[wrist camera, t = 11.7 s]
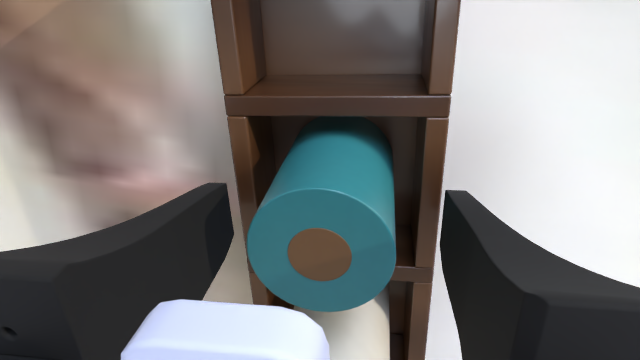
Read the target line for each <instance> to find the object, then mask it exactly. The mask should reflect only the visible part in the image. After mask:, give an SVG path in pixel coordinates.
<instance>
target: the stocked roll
mask: <svg viewBox="0 0 640 360" xmlns="http://www.w3.org/2000/svg"><path fill="white" fill-rule="evenodd" d="M293 310H295V311H298V312H302V313H304V314H306V315H307V316H308V317H309V318H311V319H312V320H313V321H314V322H316V323H317V324H318V325H319V326H321V327H322V329H323V331H324V334H325V336H326V339H327V341H328V344H329V355H330V360H390V325H389V282H388V284H387V285H386V287H385V288H384V289H383V290H382V291H381V292H380V293H379V294H378V295H377V296H376V297H375V298H373V299H372V300H370V301H369V302H367V303H365V304H363V305H361V306H359V307H356V308H353V309H350V310H345V311H338V312H319V311H312V310H308V309H304V308H301V307H298V306H295V305H294V309H293Z"/></svg>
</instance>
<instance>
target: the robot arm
mask: <svg viewBox="0 0 640 360" xmlns="http://www.w3.org/2000/svg"><path fill="white" fill-rule="evenodd" d="M233 236H234V230H233V224H232V217H231V211H230V204H229V198H228V191H227V184H226V183H207V184H204V185H202V186H200V187H197V188H195V189H193V190H191V191H189V192H187V193H185V194H183V195H181V196H179V197H177V198H175V199H173V200H171V201H169V202H167V203H165V204H163V205H161V206H159V207H157V208H155V209H153V210H151V211H148V212H146V213H144V214H142V215H140V216H138V217H135V218H133V219H131V220H128V221H125V222H123V223H120V224H117V225H115V226H112V227H109V228H106V229H103V230H100V231H96V232H93V233H90V234H86V235H83V236H79V237H76V238H72V239H68V240H64V241H60V242H55V243H50V244H46V245H41V246H35V247H30V248H23V249H17V250H10V251H3V252H0V360H330V355H329V344H328V341H327V339H326V336H325V334H324V331H323V329H322V327H321V326H319V325H318V324H317V323H316V322H314V321H313V320H312V319H311V318H309V317H308V316H307V315H306V314H304V313H302V312H298V311H295V310H291V309H287V308H284V307H279V306H265V305H252V304H238V303H225V302H211V301H202V299H203V297H204V295H205V294H206V292H207V290H208V288H209V287H210V285H211V283H212V281H213V280H214V278H215V276H216V274H217V272H218V271H219V269H220V267H221V265H222V263H223V261H224V260H225V258H226V255H227V253H228V250H229V247H230V245H231V242H232V239H233ZM440 251H441V261H442V269H443V274H444V278H445V282H446V286H447V290H448V294H449V298H450V302H451V306H452V309H453V313H454V317H455V321H456V325H457V329H458V334H459V339H460V345H461V352H462V359H463V360H640V288H639V287H636V286H632V285H629V284H625V283H622V282H619V281H616V280H613V279H611V278H608V277H605V276H602V275H600V274H597V273H594V272H592V271H589V270H587V269H585V268H582V267H580V266H577V265H575V264H573V263H571V262H569V261H567V260H565V259H562V258H560V257H558V256H556V255H554V254H552V253H550V252H549V251H547V250H545V249H543V248H542V247H540V246H538V245H536V244H535V243H533V242H531V241H530V240H528V239H526V238H525V237H523V236H522V235H520V234H519V233H518V232H516V231H515V230H513V229H512V228H510V227H509V226H508V225H506V224H505V223H504V222H502V221H501V220H500V219H499V218H497V217H496V216H495V215H494V214H493V213H491V212H490V211H489V210H488V209H487V208H485V207H484V206H483V205H482V204H481V203H480V202H479V201H477V200H476V199H475V198H474V197H473V196H472V195H470V194H469V193H468V192H467V191H457V190H445V200H444V209H443V219H442V228H441V238H440Z"/></svg>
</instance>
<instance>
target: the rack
mask: <svg viewBox="0 0 640 360" xmlns="http://www.w3.org/2000/svg"><path fill="white" fill-rule="evenodd" d="M460 4H461V0H211V6H212V13H213V20H214V27H215V34H216V41H217V49H218V56H219V63H220V70H221V77H222V84H223V91H224V94H225V96H224V100H225V107H226V114H227V115H228V117H227V120H228V127H229V134H230V141H231V148H232V155H233V163H234V170H235V177H236V184H237V191H238V198H239V205H240V212H241V219H242V226H243V233H244V241H245V248H246V255H247V263H248V270H249V276H250V283H251V290H252V297H253V305H265V306H279V307H284V308H287V309H291V310H293V309H294V305H293V304H290V303H288V302H286V301H284V300H283V299H281V298H279V297H278V296H276V295H275V294H274V293H272V292H271V291H270V290H269V289H268V288H267V287H266V286H265V285H264V284H263V283H262V282H261V281H260V279H259V278H258V277H257V275H256V274H255V272H254V270H253V268H252V266H251V263H250V261H249V257H248V253H247V233H248V230H249V226H250V224H251V222H252V219H253V217H254V216H255V214H256V212H257V210H258V208H259V206H260V204H261V203H262V201H263V199H264V197H265V195H266V193H267V191H268V189H269V188H270V186H271V184H272V182H273V180H274V178H275V176H276V175H277V173H278V171H279V169H280V167H281V165H282V163H283V162H284V160H285V158H286V156H287V154H288V152H289V150H290V149H291V147H292V145H293V143H294V141H295V139H296V137H297V136H298V134H299V133H300V131H301V130H302V129H303V128H304V127H305V126H306V125H307V124H308V123H309V122H311V121H312V120H314V119H316V118H318V117H320V116H336V117H364V118H366V119H368V120H369V121H371V122H372V123H374V124H375V125H376V126H377V127H378V128H379V129H380V130H381V131H382V132H383V133H384V135H385V136H386V138H387V139H388V141H389V144H390V146H391V149H392V154H393V175H394V205H395V235H396V264H395V269H394V272H393V275H392V277H391V279H390V281H389V325H390V360H425V352H426V342H427V332H428V322H429V312H430V302H431V292H432V281H433V272H434V262H435V252H436V242H437V232H438V222H439V212H440V203H441V193H442V183H443V173H444V163H445V153H446V143H447V133H448V123H449V118H448V117H449V113H450V104H451V95H450V94H451V92H452V83H453V73H454V63H455V53H456V44H457V34H458V24H459V14H460Z"/></svg>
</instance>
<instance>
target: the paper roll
mask: <svg viewBox="0 0 640 360" xmlns="http://www.w3.org/2000/svg"><path fill="white" fill-rule="evenodd" d="M247 253H248V257H249V261H250V263H251V266H252V268H253V270H254V272H255V274H256V275H257V277H258V278H259V279H260V281H261V282H262V283H263V284H264V285H265V286H266V287H267V288H268V289H269V290H270V291H271V292H272V293H274V294H275V295H276V296H278V297H279V298H281V299H283V300H284V301H286V302H288V303H290V304H293V305H295V306H298V307H301V308H304V309H308V310H312V311H319V312H338V311H345V310H350V309H353V308H356V307H359V306H361V305H363V304H365V303H367V302H369V301H370V300H372V299H373V298H375V297H376V296H377V295H378V294H379V293H380V292H381V291H382V290H383V289H384V288H385V287H386V285H387V284H388V282H389V281H390V279H391V277H392V275H393V272H394V269H395V264H396V235H395V205H394V175H393V154H392V149H391V146H390V144H389V141H388V139H387V138H386V136H385V135H384V133H383V132H382V131H381V130H380V129H379V128H378V127H377V126H376V125H375V124H374V123H372V122H371V121H369V120H368V119H366V118H364V117H336V116H320V117H318V118H316V119H314V120H312V121H311V122H309V123H308V124H307V125H306V126H305V127H304V128H303V129H302V130H301V131H300V133H299V134H298V136H297V137H296V139H295V141H294V143H293V145H292V147H291V149H290V150H289V152H288V154H287V156H286V158H285V160H284V162H283V163H282V165H281V167H280V169H279V171H278V173H277V175H276V176H275V178H274V180H273V182H272V184H271V186H270V188H269V189H268V191H267V193H266V195H265V197H264V199H263V201H262V203H261V204H260V206H259V208H258V210H257V212H256V214H255V216H254V217H253V219H252V222H251V224H250V226H249V230H248V233H247Z"/></svg>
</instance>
